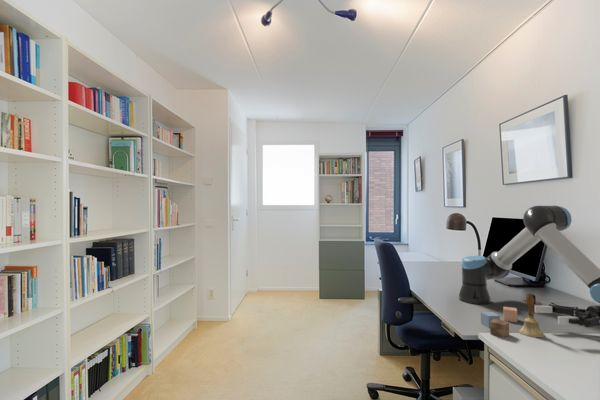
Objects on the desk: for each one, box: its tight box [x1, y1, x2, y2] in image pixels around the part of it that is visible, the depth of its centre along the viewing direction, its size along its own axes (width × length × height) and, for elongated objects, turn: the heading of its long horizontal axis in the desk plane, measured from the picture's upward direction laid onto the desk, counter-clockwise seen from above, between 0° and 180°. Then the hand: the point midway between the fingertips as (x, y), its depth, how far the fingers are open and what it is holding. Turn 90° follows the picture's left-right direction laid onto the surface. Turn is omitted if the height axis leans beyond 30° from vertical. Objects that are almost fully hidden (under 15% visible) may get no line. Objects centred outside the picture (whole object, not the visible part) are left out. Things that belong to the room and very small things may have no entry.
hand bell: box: [518, 292, 545, 338], centre depth 131 cm, size 8×8×16 cm
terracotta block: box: [502, 306, 518, 323], centre depth 147 cm, size 5×5×5 cm
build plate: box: [522, 292, 541, 306], centre depth 176 cm, size 12×7×5 cm, turn 164°
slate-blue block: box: [480, 311, 501, 329], centre depth 140 cm, size 5×5×5 cm
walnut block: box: [489, 319, 510, 339], centre depth 130 cm, size 5×5×5 cm
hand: (546, 314), depth 130 cm, fingers open, 13 cm apart
